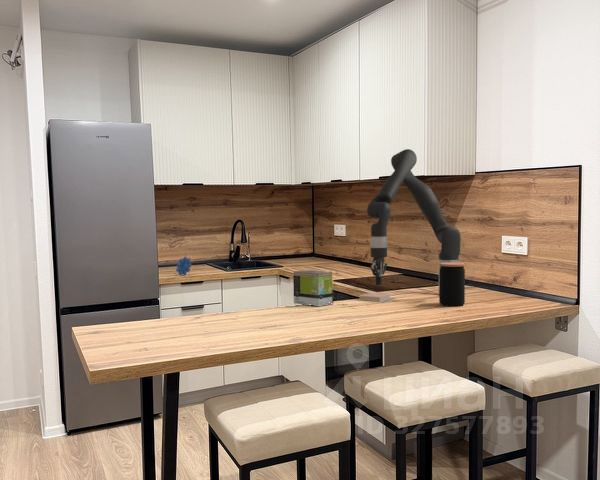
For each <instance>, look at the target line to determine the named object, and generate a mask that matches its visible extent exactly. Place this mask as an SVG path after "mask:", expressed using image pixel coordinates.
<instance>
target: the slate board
mask: <svg viewBox="0 0 600 480" xmlns="http://www.w3.org/2000/svg"><path fill="white" fill-rule="evenodd" d="M396 299H397V298H396V297H390V299H388V300H384V301H381V302H380V303H386V302H390V301H392V300H396ZM355 301H361V302H366V301H365V300H360V298H357V299H355ZM370 302H372V303H373V302H374V303H377V302H376V301H370Z"/></svg>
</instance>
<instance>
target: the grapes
mask: <svg viewBox="0 0 600 480" xmlns="http://www.w3.org/2000/svg"><path fill="white" fill-rule="evenodd" d="M192 266H193V265H192V263H191V259H190V258H188V257H187V256H184V257H183V258H182V257H181V258H180V259H178V262H176V266H175V267H176V269H175V270H176V272H177V274H178V275H179V274H182V275H183V274H185V275H187V273H189V272H190V271H191V267H192Z"/></svg>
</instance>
